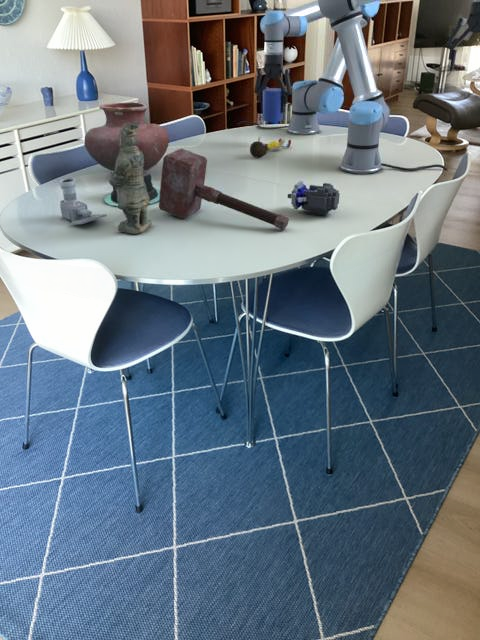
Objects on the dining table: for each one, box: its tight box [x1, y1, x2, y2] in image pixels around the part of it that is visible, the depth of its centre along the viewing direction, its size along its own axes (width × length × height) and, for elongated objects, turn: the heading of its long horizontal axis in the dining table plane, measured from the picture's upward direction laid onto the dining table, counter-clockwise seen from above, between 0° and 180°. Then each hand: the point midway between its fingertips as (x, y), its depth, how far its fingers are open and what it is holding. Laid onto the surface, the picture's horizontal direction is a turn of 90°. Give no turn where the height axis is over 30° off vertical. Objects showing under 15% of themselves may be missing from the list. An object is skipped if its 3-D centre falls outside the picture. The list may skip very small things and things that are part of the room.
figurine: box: [249, 135, 292, 158], centre depth 235 cm, size 13×8×25 cm
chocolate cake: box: [103, 169, 160, 207], centre depth 186 cm, size 15×19×20 cm
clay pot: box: [83, 101, 170, 172], centre depth 207 cm, size 30×30×25 cm
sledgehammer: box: [158, 148, 290, 231], centre depth 163 cm, size 17×10×40 cm
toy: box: [287, 180, 341, 216], centre depth 168 cm, size 9×9×15 cm
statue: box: [108, 121, 153, 235], centre depth 154 cm, size 11×9×30 cm
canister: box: [261, 87, 284, 123], centre depth 238 cm, size 9×9×12 cm
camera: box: [59, 177, 108, 225], centre depth 165 cm, size 9×12×15 cm
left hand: (272, 111), depth 239 cm, fingers closed on canister, 9 cm apart
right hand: (471, 71), depth 194 cm, fingers open, 13 cm apart
